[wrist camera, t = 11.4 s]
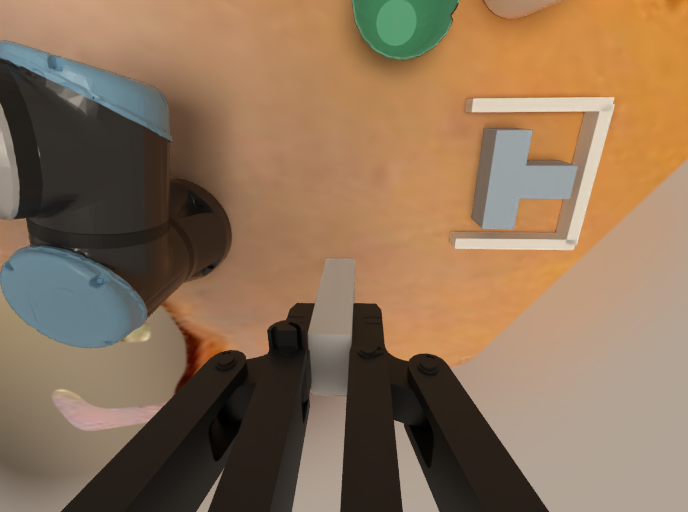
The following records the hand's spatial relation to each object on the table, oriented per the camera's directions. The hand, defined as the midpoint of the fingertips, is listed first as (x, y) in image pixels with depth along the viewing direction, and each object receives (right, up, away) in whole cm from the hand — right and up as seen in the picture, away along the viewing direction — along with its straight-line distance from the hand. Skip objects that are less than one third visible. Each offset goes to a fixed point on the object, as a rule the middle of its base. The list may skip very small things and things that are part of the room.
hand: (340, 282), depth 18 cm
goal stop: (+24, +12, +29) cm, 39 cm away
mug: (+6, +31, +22) cm, 38 cm away
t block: (+22, +12, +29) cm, 38 cm away
